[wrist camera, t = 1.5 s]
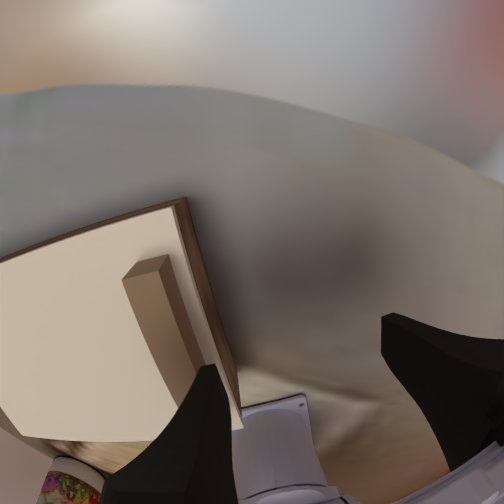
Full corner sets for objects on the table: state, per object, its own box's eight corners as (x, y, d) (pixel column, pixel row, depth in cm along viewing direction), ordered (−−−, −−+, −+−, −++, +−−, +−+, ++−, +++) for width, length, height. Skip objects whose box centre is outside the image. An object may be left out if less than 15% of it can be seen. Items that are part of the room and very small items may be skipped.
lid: (242, 419, 17) (247, 456, 14) (25, 429, 16) (12, 453, 13) (173, 205, 13) (160, 214, 10) (-54, 286, 12) (-79, 301, 9)
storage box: (237, 373, 22) (242, 416, 18) (45, 395, 21) (26, 427, 17) (186, 196, 19) (174, 204, 14) (-18, 265, 18) (-52, 284, 13)
